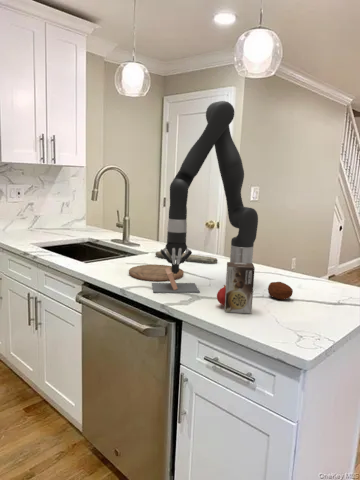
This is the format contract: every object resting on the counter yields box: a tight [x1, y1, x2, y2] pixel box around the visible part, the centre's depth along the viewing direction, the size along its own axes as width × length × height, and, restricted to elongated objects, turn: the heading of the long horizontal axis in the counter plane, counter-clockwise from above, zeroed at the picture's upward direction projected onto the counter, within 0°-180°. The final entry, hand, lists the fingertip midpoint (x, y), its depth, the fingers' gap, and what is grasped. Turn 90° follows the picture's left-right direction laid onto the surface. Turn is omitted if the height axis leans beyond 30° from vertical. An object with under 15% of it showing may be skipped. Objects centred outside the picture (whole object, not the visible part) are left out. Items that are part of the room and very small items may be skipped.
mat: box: [151, 282, 201, 294], centre depth 154 cm, size 18×12×1 cm, turn 98°
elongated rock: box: [154, 250, 218, 265], centre depth 208 cm, size 35×5×10 cm
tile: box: [165, 267, 178, 290], centre depth 153 cm, size 9×2×7 cm, turn 8°
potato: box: [267, 281, 294, 301], centre depth 147 cm, size 7×9×6 cm
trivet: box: [128, 264, 184, 283], centre depth 175 cm, size 25×25×2 cm
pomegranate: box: [216, 284, 226, 308], centre depth 134 cm, size 6×6×8 cm
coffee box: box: [223, 261, 256, 314], centre depth 131 cm, size 9×6×16 cm
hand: (175, 273), depth 153 cm, fingers closed
